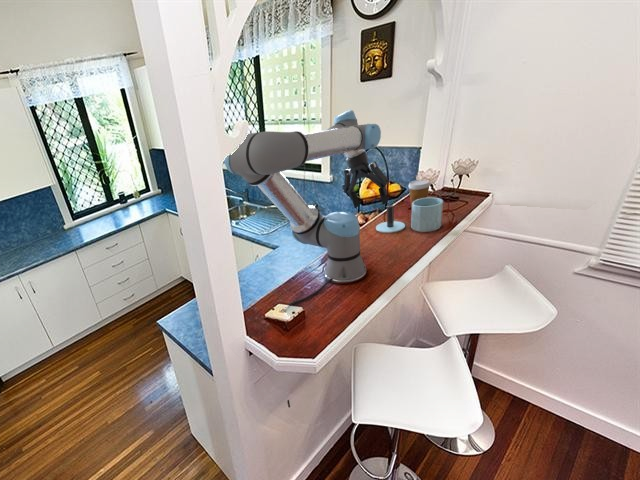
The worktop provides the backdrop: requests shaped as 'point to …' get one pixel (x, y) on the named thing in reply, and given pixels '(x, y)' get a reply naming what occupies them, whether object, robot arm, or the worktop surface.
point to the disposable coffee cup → (418, 189)
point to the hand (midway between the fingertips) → (370, 204)
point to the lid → (390, 223)
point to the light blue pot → (426, 214)
